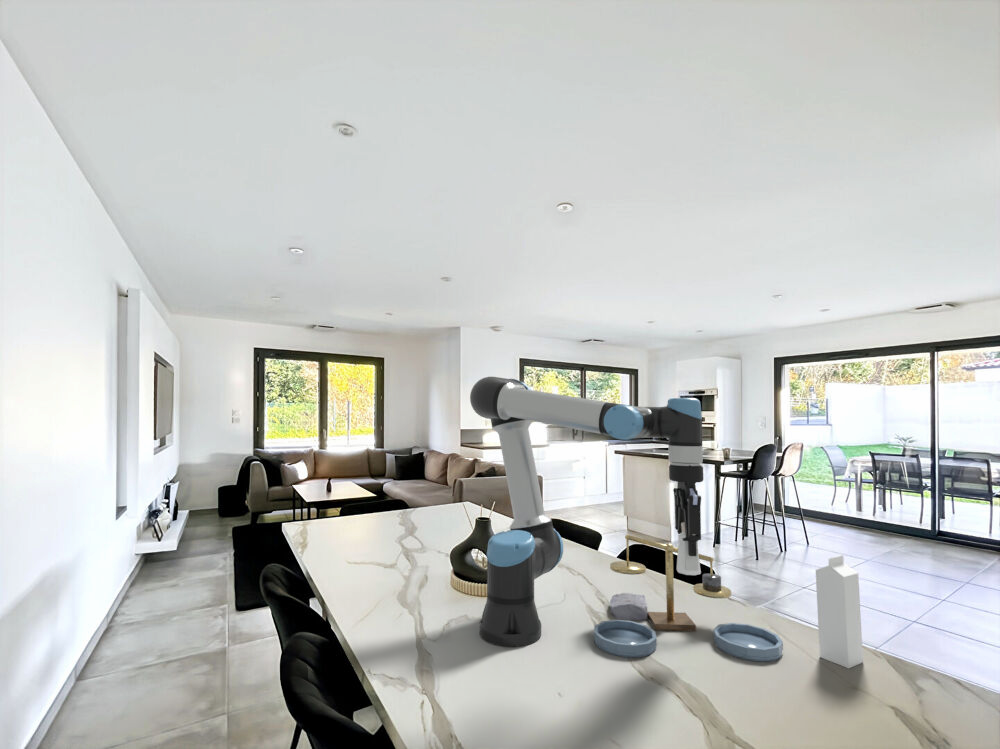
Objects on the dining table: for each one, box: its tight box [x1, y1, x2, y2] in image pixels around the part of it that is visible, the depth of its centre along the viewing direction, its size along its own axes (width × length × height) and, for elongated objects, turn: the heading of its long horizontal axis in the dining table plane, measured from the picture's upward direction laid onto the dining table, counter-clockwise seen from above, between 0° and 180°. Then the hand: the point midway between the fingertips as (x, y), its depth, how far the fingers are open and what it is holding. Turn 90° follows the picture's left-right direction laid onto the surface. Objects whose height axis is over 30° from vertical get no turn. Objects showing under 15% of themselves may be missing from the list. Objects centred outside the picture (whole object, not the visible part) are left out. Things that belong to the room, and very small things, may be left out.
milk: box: [815, 554, 864, 669], centre depth 111 cm, size 6×6×22 cm
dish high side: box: [593, 619, 657, 659], centre depth 118 cm, size 14×14×3 cm
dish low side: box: [712, 622, 784, 663], centre depth 116 cm, size 14×14×3 cm
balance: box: [609, 534, 732, 632], centre depth 130 cm, size 30×9×22 cm, turn 87°
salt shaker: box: [676, 522, 702, 576], centre depth 116 cm, size 5×5×11 cm
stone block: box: [609, 592, 648, 621], centre depth 138 cm, size 12×5×10 cm
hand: (688, 566), depth 115 cm, fingers closed on salt shaker, 4 cm apart
